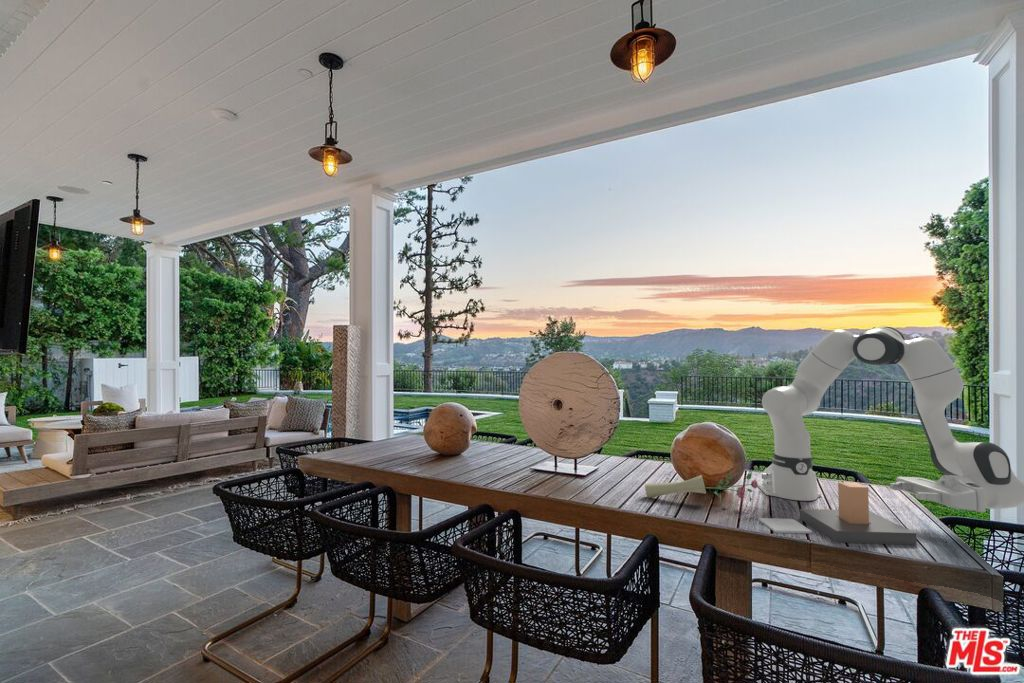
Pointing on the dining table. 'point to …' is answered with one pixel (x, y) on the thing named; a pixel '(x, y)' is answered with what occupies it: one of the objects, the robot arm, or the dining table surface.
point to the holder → (857, 528)
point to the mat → (784, 525)
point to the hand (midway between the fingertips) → (904, 491)
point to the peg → (853, 503)
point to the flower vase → (693, 487)
